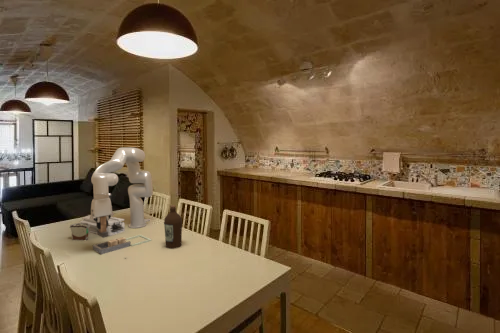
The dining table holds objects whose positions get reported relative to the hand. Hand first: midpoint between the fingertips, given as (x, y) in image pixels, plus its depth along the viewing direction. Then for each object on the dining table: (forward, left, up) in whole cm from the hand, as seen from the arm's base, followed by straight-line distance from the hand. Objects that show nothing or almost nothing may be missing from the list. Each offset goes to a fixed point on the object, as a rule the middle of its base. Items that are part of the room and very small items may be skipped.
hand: (102, 227), depth 162 cm
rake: (0, 0, -5) cm, 5 cm away
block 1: (-5, 0, -13) cm, 14 cm away
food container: (0, -34, -15) cm, 37 cm away
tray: (-20, 0, -14) cm, 25 cm away
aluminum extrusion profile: (-16, -42, -15) cm, 47 cm away
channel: (-5, 0, -14) cm, 15 cm away
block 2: (-10, 0, -13) cm, 17 cm away
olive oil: (-32, +22, -15) cm, 42 cm away
